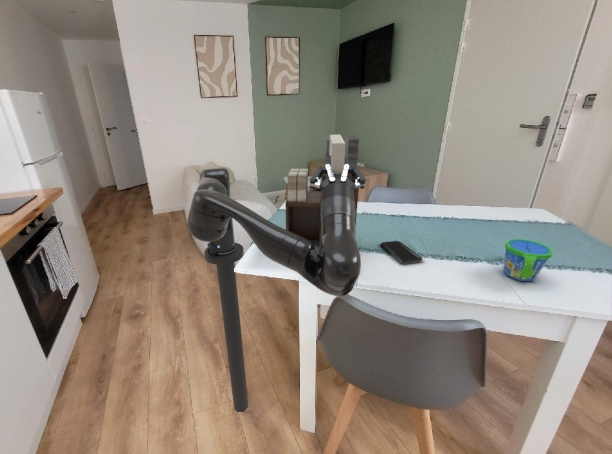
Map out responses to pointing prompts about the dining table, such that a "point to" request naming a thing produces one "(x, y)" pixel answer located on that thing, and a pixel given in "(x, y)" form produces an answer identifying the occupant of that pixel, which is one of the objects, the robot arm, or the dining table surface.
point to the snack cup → (525, 259)
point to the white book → (337, 153)
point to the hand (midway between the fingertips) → (336, 158)
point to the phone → (401, 252)
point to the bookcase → (313, 197)
